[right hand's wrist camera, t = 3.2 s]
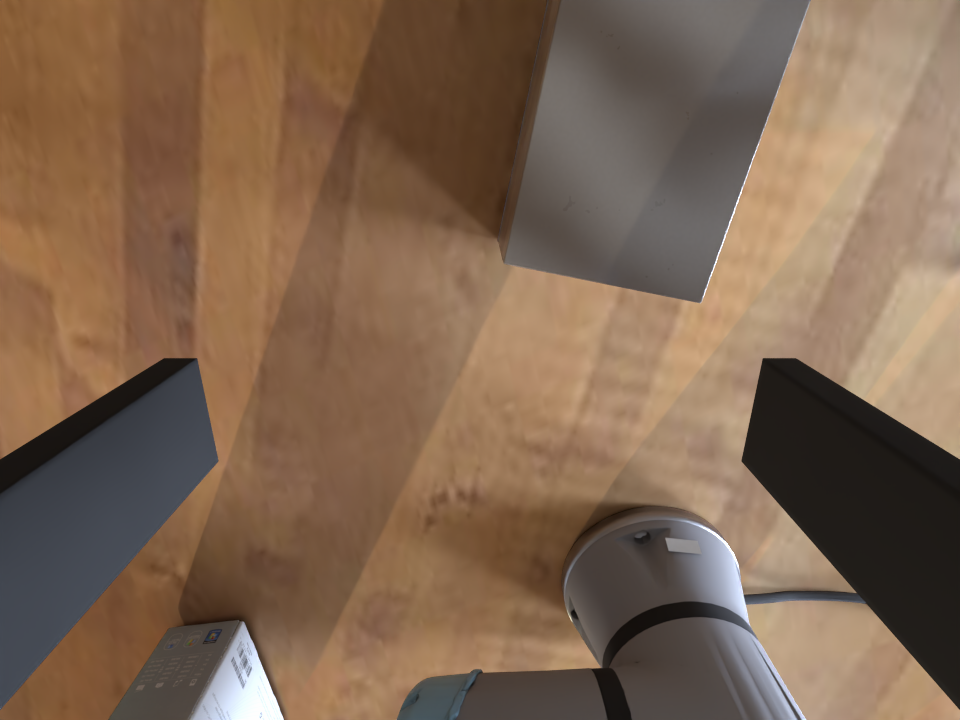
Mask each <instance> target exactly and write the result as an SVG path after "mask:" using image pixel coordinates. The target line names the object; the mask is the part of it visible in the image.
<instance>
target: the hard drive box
mask: <svg viewBox="0 0 960 720" xmlns="http://www.w3.org/2000/svg"><path fill="white" fill-rule="evenodd" d="M108 720H284V719H283V716H282V714H281V712H280V708H279V706H278V703H277V700H276V698H275V696H274V695H273V692H272V689H271V687H270V684H269V682H268V679H267V677H266V674H265V672H264V670H263V667H262V665H261V662H260V660H259V657H258V653H257V651H256V649H255V646H254V643H253V641H252V640H251V638H250V635H249V633H248V630H247V628H246V625H245V623H244V622H243V621H239V620H235V621H225V622H217V623H208V624H199V625H190V626H181V627H173V628H169V629H168V630H167V632H166V633H165V635H164V636H163V638H162V639H161V641H160V642H159V644H158V645H157V647H156V648H155V650H154V651H153V653H152V654H151V656H150V657H149V659H148V660H147V662H146V663H145V665H144V666H143V668H142V669H141V671H140V672H139V674H138V675H137V677H136V679H135V680H134V682H133V683H132V684H131V686H130V687H129V689H128V691H127V692H126V694H125V695H124V697H123V698H122V699H121V701H120V703H119V704H118V706H117V707H116V709H115V710H114V712H113V713H112V715H111V716H110V718H109V719H108Z"/></svg>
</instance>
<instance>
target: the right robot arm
mask: <svg viewBox="0 0 960 720" xmlns="http://www.w3.org/2000/svg"><path fill="white" fill-rule="evenodd" d="M217 462H218V456H217V452H216V447H215V442H214V437H213V432H212V428H211V423H210V418H209V413H208V408H207V404H206V399H205V394H204V389H203V384H202V380H201V375H200V370H199V365H198V360H197V358H164V359H162V360H161V361H159V362H157V363H156V364H154V365H153V366H151V367H149V368H148V369H146V370H144V371H143V372H141V373H140V374H138V375H136V376H135V377H133V378H131V379H130V380H128V381H127V382H125V383H123V384H122V385H120V386H119V387H117V388H115V389H114V390H112V391H110V392H109V393H107V394H106V395H104V396H102V397H101V398H99V399H97V400H96V401H94V402H93V403H91V404H89V405H88V406H86V407H85V408H83V409H81V410H80V411H78V412H76V413H75V414H73V415H72V416H70V417H68V418H67V419H65V420H63V421H62V422H60V423H59V424H57V425H55V426H54V427H52V428H50V429H49V430H47V431H46V432H44V433H42V434H41V435H39V436H38V437H36V438H34V439H33V440H31V441H29V442H28V443H26V444H25V445H23V446H21V447H20V448H18V449H16V450H15V451H13V452H12V453H10V454H8V455H7V456H5V457H4V458H2V459H0V709H1V708H2V707H3V706H4V705H5V704H6V703H7V701H8V700H9V699H10V698H11V697H12V696H13V695H14V694H15V692H16V691H17V690H18V689H19V688H20V687H21V686H22V684H23V683H24V682H25V681H26V680H27V679H28V678H29V676H30V675H31V674H32V673H33V672H34V671H35V670H36V668H37V667H38V666H39V665H40V664H41V663H42V662H43V660H44V659H45V658H46V657H47V656H48V655H49V654H50V653H51V651H52V650H53V649H54V648H55V647H56V646H57V645H58V643H59V642H60V641H61V640H62V639H63V638H64V637H65V635H66V634H67V633H68V632H69V631H70V630H71V629H72V627H73V626H74V625H75V624H76V623H77V622H78V621H79V619H80V618H81V617H82V616H83V615H84V614H85V613H86V612H87V610H88V609H89V608H90V607H91V606H92V605H93V604H94V602H95V601H96V600H97V599H98V598H99V597H100V596H101V594H102V593H103V592H104V591H105V590H106V589H107V588H108V586H109V585H110V584H111V583H112V582H113V581H114V580H115V578H116V577H117V576H118V575H119V574H120V573H121V572H122V571H123V569H124V568H125V567H126V566H127V565H128V564H129V563H130V561H131V560H132V559H133V558H134V557H135V556H136V555H137V553H138V552H139V551H140V550H141V549H142V548H143V547H144V545H145V544H146V543H147V542H148V541H149V540H150V539H151V537H152V536H153V535H154V534H155V533H156V532H157V531H158V530H159V528H160V527H161V526H162V525H163V524H164V523H165V522H166V520H167V519H168V518H169V517H170V516H171V515H172V514H173V512H174V511H175V510H176V509H177V508H178V507H179V506H180V504H181V503H182V502H183V501H184V500H185V499H186V498H187V496H188V495H189V494H190V493H191V492H192V491H193V490H194V489H195V487H196V486H197V485H198V484H199V483H200V482H201V481H202V479H203V478H204V477H205V476H206V475H207V474H208V473H209V471H210V470H211V469H212V468H213V467H214V466H215V465H216V463H217ZM742 462H743V463H744V465H745V466H746V467H747V468H748V469H749V470H750V471H751V473H752V474H753V475H754V476H755V477H756V478H757V479H758V481H759V482H760V483H761V484H762V485H763V486H764V487H765V489H766V490H767V491H768V492H769V493H770V494H771V495H772V496H773V498H774V499H775V500H776V501H777V502H778V503H779V504H780V506H781V507H782V508H783V509H784V510H785V511H786V512H787V514H788V515H789V516H790V517H791V518H792V519H793V520H794V522H795V523H796V524H797V525H798V526H799V527H800V528H801V530H802V531H803V532H804V533H805V534H806V535H807V536H808V537H809V539H810V540H811V541H812V542H813V543H814V544H815V545H816V547H817V548H818V549H819V550H820V551H821V552H822V553H823V555H824V556H825V557H826V558H827V559H828V560H829V561H830V563H831V564H832V565H833V566H834V567H835V568H836V569H837V571H838V572H839V573H840V574H841V575H842V576H843V577H844V578H845V580H846V581H847V582H848V583H849V584H850V585H851V586H852V588H853V589H854V590H855V591H856V592H857V593H858V594H857V593H847V592H831V591H784V592H775V593H765V594H749V595H743V591H742V587H741V577H740V571H739V566H738V563H737V560H736V558H735V556H734V554H733V552H732V551H731V549H730V548H729V546H728V545H727V543H726V541H725V540H724V538H723V537H722V535H721V534H720V533H719V532H718V530H717V529H716V528H715V527H714V526H712V525H711V524H710V523H709V522H707V521H706V520H704V519H703V518H701V517H699V516H697V515H695V514H693V513H691V512H688V511H685V510H681V509H677V508H671V507H661V506H650V507H640V508H635V509H630V510H626V511H623V512H620V513H617V514H614V515H612V516H610V517H608V518H606V519H604V520H602V521H600V522H599V523H597V524H596V525H594V526H593V527H591V528H590V529H589V530H587V531H586V532H585V533H584V534H583V535H582V536H581V537H580V538H579V539H578V540H577V542H576V543H575V544H574V545H573V547H572V548H571V550H570V552H569V553H568V555H567V558H566V560H565V563H564V566H563V570H562V580H561V582H562V590H563V596H564V601H565V606H566V610H567V612H568V615H569V617H570V619H571V621H572V622H573V624H574V626H575V627H576V629H577V630H578V632H579V633H580V635H581V637H582V638H583V640H584V642H585V643H586V645H587V646H588V648H589V649H590V651H591V653H592V654H593V656H594V657H595V659H596V660H597V662H598V664H599V665H600V667H601V668H596V669H589V668H586V669H568V670H550V671H524V672H493V673H483V672H482V670H481V669H475V670H473V671H471V672H470V673H467V674H457V675H447V676H438V677H431V678H427V679H425V680H423V681H421V682H420V683H418V684H417V685H416V686H415V687H414V688H413V689H412V690H411V692H410V693H409V694H408V696H407V697H406V699H405V701H404V703H403V705H402V707H401V710H400V712H399V715H398V717H397V720H806V719H805V718H804V716H803V714H802V713H801V711H800V709H799V708H798V706H797V704H796V702H795V701H794V699H793V697H792V696H791V694H790V692H789V691H788V689H787V687H786V686H785V684H784V682H783V681H782V679H781V677H780V676H779V674H778V672H777V671H776V669H775V667H774V665H773V664H772V662H771V660H770V659H769V657H768V655H767V654H766V652H765V650H764V649H763V647H762V645H761V644H760V642H759V640H758V639H757V637H756V635H755V634H754V632H753V630H752V628H751V626H750V624H749V620H748V615H747V610H746V604H763V603H774V602H782V601H796V600H821V601H845V602H856V603H865V604H867V605H868V606H869V607H870V608H871V609H872V610H873V612H874V613H875V614H876V615H877V616H878V617H879V618H880V619H881V621H882V622H883V623H884V624H885V625H886V626H887V627H888V629H889V630H890V631H891V632H892V633H893V634H894V635H895V637H896V638H897V639H898V640H899V641H900V642H901V643H902V645H903V646H904V647H905V648H906V649H907V650H908V651H909V653H910V654H911V655H912V656H913V657H914V658H915V659H916V660H917V662H918V663H919V664H920V665H921V666H922V667H923V668H924V670H925V671H926V672H927V673H928V674H929V675H930V676H931V678H932V679H933V680H934V681H935V682H936V683H937V684H938V686H939V687H940V688H941V689H942V690H943V691H944V692H945V694H946V695H947V696H948V697H949V698H950V699H951V700H952V701H953V703H954V704H955V705H956V706H957V707H958V708H959V709H960V459H958V458H956V457H955V456H953V455H952V454H950V453H948V452H947V451H945V450H944V449H942V448H940V447H939V446H937V445H935V444H934V443H932V442H931V441H929V440H927V439H926V438H924V437H922V436H921V435H919V434H918V433H916V432H914V431H913V430H911V429H910V428H908V427H906V426H905V425H903V424H901V423H900V422H898V421H897V420H895V419H893V418H892V417H890V416H888V415H887V414H885V413H884V412H882V411H880V410H879V409H877V408H875V407H874V406H872V405H871V404H869V403H867V402H866V401H864V400H863V399H861V398H859V397H858V396H856V395H854V394H853V393H851V392H850V391H848V390H846V389H845V388H843V387H841V386H840V385H838V384H837V383H835V382H833V381H832V380H830V379H829V378H827V377H825V376H824V375H822V374H820V373H819V372H817V371H816V370H814V369H812V368H811V367H809V366H807V365H806V364H804V363H803V362H801V361H799V360H798V359H796V358H763V360H762V365H761V370H760V375H759V380H758V384H757V389H756V394H755V399H754V404H753V408H752V413H751V418H750V423H749V428H748V432H747V437H746V442H745V447H744V452H743V456H742Z"/></svg>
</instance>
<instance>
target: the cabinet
mask: <svg viewBox="0 0 960 720" xmlns="http://www.w3.org/2000/svg"><path fill="white" fill-rule="evenodd" d="M810 1H811V0H547V5H546V10H545V15H544V20H543V24H542V29H541V34H540V39H539V44H538V48H537V53H536V58H535V63H534V68H533V72H532V77H531V82H530V87H529V92H528V96H527V101H526V106H525V111H524V116H523V120H522V125H521V130H520V135H519V139H518V144H517V149H516V154H515V159H514V163H513V168H512V173H511V178H510V183H509V187H508V192H507V197H506V202H505V207H504V211H503V216H502V221H501V226H500V231H499V235H498V242H499V246H500V251H501V255H502V259H503V262H504V264H508V265H513V266H517V267H522V268H527V269H532V270H537V271H542V272H547V273H552V274H557V275H562V276H567V277H572V278H577V279H582V280H587V281H592V282H597V283H602V284H607V285H612V286H617V287H622V288H627V289H632V290H637V291H642V292H647V293H652V294H657V295H662V296H667V297H672V298H677V299H682V300H687V301H692V302H697V303H701V302H702V299H703V297H704V294H705V291H706V288H707V286H708V283H709V280H710V277H711V275H712V272H713V269H714V266H715V264H716V261H717V258H718V255H719V252H720V250H721V247H722V244H723V241H724V239H725V236H726V233H727V230H728V228H729V225H730V222H731V219H732V216H733V214H734V211H735V208H736V205H737V203H738V200H739V197H740V194H741V192H742V189H743V186H744V183H745V181H746V178H747V175H748V172H749V169H750V167H751V164H752V161H753V158H754V156H755V153H756V150H757V147H758V145H759V142H760V139H761V136H762V133H763V131H764V128H765V125H766V122H767V120H768V117H769V114H770V111H771V109H772V106H773V103H774V100H775V98H776V95H777V92H778V89H779V86H780V84H781V81H782V78H783V75H784V73H785V70H786V67H787V64H788V62H789V59H790V56H791V53H792V50H793V48H794V45H795V42H796V39H797V37H798V34H799V31H800V28H801V26H802V23H803V20H804V17H805V15H806V12H807V9H808V6H809V3H810Z"/></svg>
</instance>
